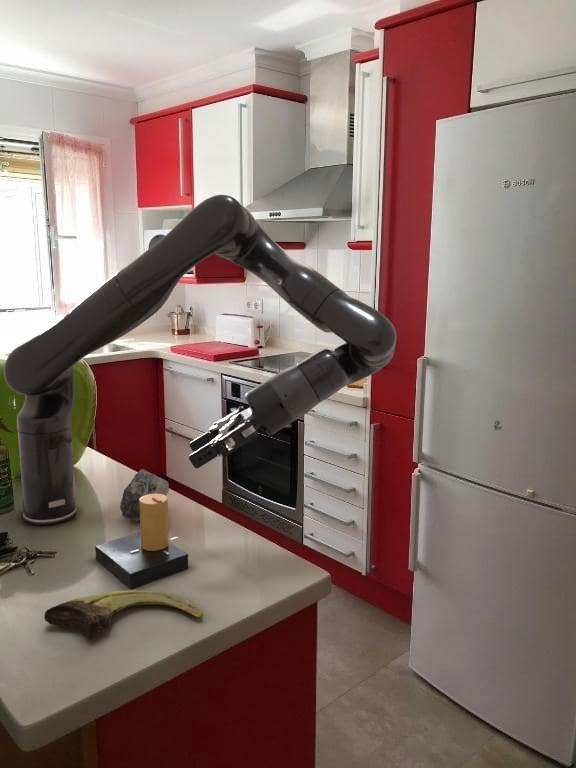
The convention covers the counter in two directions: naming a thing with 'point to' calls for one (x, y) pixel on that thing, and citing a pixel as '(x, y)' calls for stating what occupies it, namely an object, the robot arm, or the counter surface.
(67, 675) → the counter surface
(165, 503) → the tan cylinder
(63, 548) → the counter surface
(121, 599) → the claw
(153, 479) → the stone
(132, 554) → the panel
